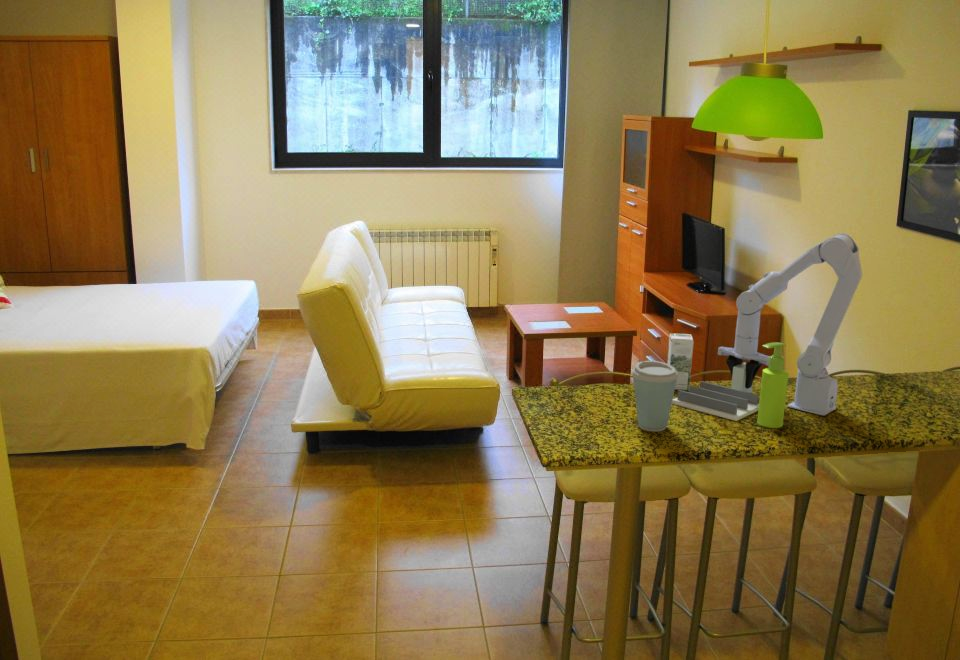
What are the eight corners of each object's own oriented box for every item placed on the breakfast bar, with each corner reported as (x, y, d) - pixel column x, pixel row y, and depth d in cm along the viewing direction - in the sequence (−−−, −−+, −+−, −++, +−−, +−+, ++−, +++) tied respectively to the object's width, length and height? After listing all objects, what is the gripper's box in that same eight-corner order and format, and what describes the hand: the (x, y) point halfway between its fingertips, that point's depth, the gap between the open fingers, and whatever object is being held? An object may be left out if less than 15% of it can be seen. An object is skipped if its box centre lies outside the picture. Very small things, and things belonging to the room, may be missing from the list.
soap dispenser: (748, 421, 216) (756, 341, 211) (771, 418, 219) (779, 339, 214) (764, 429, 211) (773, 347, 206) (788, 426, 213) (797, 345, 209)
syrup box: (686, 385, 244) (691, 333, 240) (689, 391, 238) (693, 338, 235) (665, 383, 244) (669, 332, 241) (667, 390, 239) (671, 337, 235)
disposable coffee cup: (684, 430, 209) (689, 368, 205) (649, 438, 203) (654, 375, 200) (652, 417, 217) (657, 357, 214) (618, 424, 212) (622, 363, 208)
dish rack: (762, 408, 226) (764, 394, 225) (736, 421, 216) (738, 407, 215) (699, 391, 238) (700, 379, 237) (671, 403, 228) (672, 390, 227)
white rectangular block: (741, 391, 239) (744, 362, 238) (751, 393, 238) (754, 364, 236) (730, 396, 235) (733, 366, 233) (740, 398, 233) (743, 369, 231)
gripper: (714, 333, 234) (709, 383, 238) (766, 344, 225) (760, 395, 228) (726, 329, 239) (722, 377, 243) (778, 339, 230) (773, 389, 233)
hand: (741, 386), depth 236 cm, fingers closed on white rectangular block, 3 cm apart
